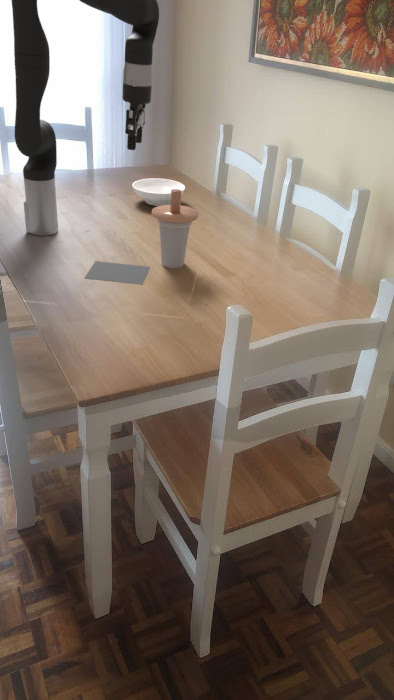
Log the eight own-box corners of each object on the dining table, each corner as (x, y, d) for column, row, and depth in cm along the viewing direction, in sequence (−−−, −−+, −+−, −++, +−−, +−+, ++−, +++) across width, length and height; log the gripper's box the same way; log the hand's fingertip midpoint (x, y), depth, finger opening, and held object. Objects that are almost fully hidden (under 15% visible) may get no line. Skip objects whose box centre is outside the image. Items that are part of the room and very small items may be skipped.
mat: (84, 279, 155) (84, 278, 155) (95, 262, 165) (95, 261, 165) (142, 285, 154) (142, 284, 154) (150, 267, 164) (150, 266, 164)
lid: (148, 220, 154) (148, 195, 151) (155, 205, 165) (156, 182, 162) (195, 225, 154) (197, 200, 150) (200, 209, 165) (202, 186, 161)
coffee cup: (193, 261, 170) (196, 212, 162) (182, 273, 162) (185, 223, 155) (163, 255, 173) (165, 207, 165) (151, 267, 165) (152, 217, 157)
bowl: (194, 203, 218) (195, 185, 214) (164, 216, 204) (165, 197, 200) (152, 192, 226) (153, 175, 223) (121, 203, 212) (121, 185, 208)
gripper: (128, 77, 156) (126, 138, 164) (117, 84, 144) (115, 150, 152) (156, 80, 155) (152, 142, 164) (146, 87, 143) (143, 154, 152)
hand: (134, 146), depth 158 cm, fingers open, 8 cm apart
